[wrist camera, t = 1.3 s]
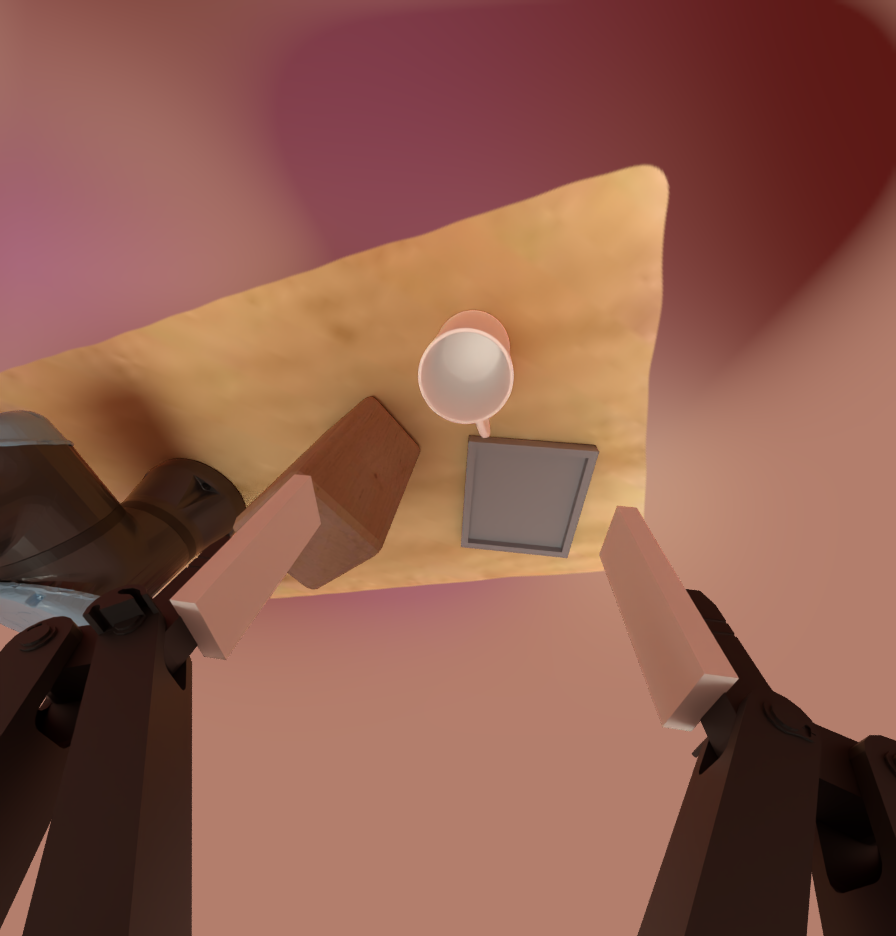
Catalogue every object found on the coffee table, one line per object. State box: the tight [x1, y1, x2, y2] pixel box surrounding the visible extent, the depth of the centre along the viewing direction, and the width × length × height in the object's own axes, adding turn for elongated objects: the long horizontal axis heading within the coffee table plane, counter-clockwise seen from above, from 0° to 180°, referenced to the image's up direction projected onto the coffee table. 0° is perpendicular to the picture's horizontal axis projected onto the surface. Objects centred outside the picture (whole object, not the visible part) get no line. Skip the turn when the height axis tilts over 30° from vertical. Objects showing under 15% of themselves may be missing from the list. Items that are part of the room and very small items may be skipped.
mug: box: [418, 310, 514, 438], centre depth 34 cm, size 12×8×12 cm
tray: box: [461, 435, 599, 558], centre depth 46 cm, size 16×18×2 cm
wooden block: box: [233, 397, 420, 589], centre depth 37 cm, size 10×10×20 cm
